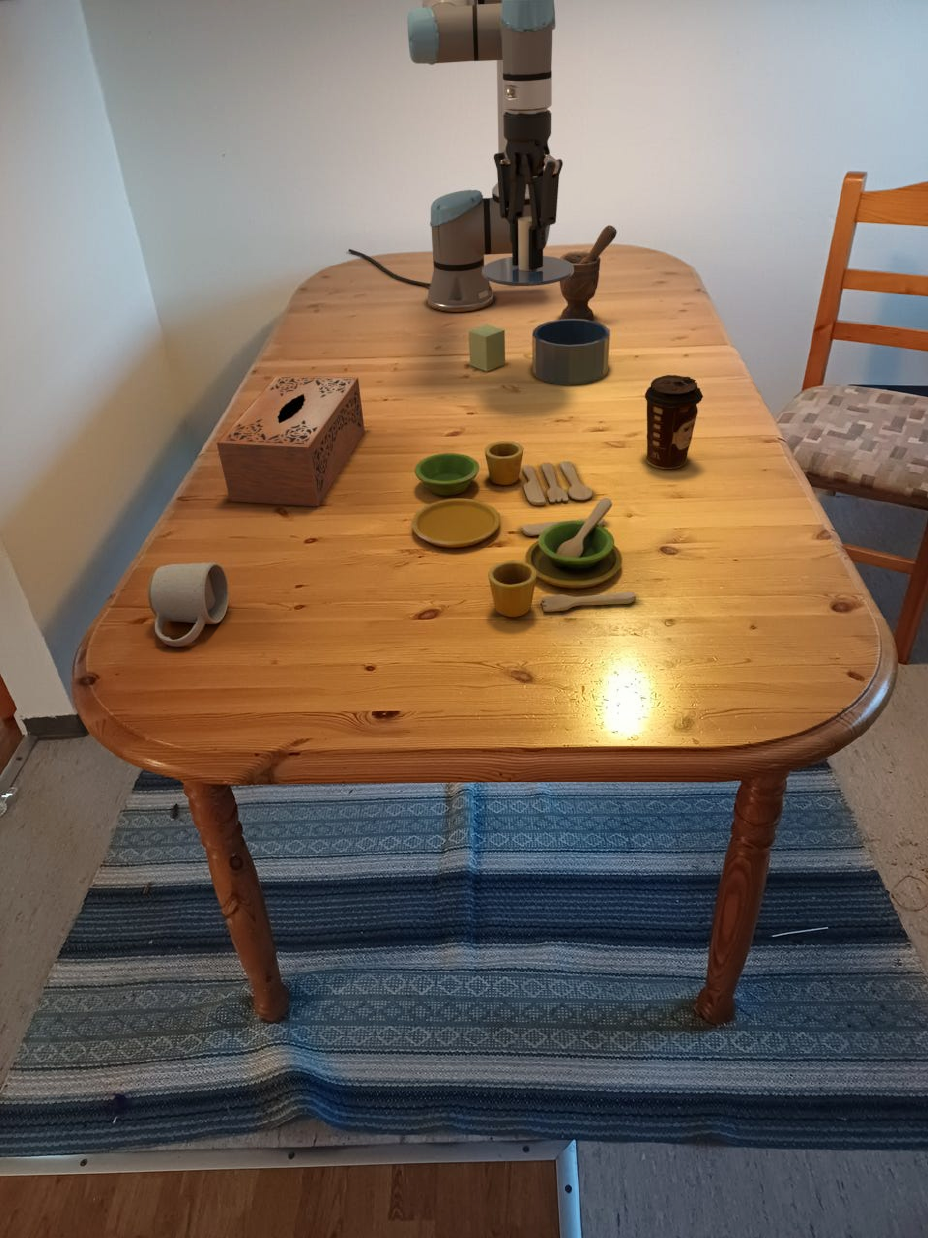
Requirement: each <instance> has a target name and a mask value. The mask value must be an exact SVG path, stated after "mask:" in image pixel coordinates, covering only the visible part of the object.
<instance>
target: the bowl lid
mask: <svg viewBox="0 0 928 1238" xmlns="http://www.w3.org/2000/svg"><path fill="white" fill-rule="evenodd" d="M530 226H532V217H521V218H519V219H518V266H513V265H512V256H509V257H504V258H500V259H497V260H493V261H490V262H488V263H486V264H484V267H483V268H482V276H483V277H484V278H485V279H486V280H488V281H489V282H491V283H494V284H497V285H498V284H499V285H502V286H511V287H537V286H544V285H551V284H555V283H560V281H562V280H565V279H567V278H569V277H570V276H571V275H572V274H573V273H574V266H573V265H572V263H570V262H568V261H566V260H563V259H560V257H555V256H549V255H543V267H541V268H538V269H535V270H529V229H530V228H529V227H530Z"/></svg>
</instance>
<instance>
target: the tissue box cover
mask: <svg viewBox="0 0 928 1238" xmlns="http://www.w3.org/2000/svg"><path fill="white" fill-rule="evenodd" d="M363 414H364V413H363V407H362V398H361V390H360V382H359V377H354V376H353V377H352V376H350V377H349V376H321V375H320V376H319V375H288V374H276V376H275V377H274V378H273V379H272V381H270V382H269V384H268V385H267V386H266V387H265V388H264V389H263V390H262V391H261V393H260V394H259V395H258V396H257V397H256V398H255V399H254V400H253V401H252V403H251V404H250V405H249V406H248V407H247V408H246V409H245V410H244V412H243V413H242V414H240V416H239V417H238V418H237V419H236V420H235V421H234V423H233V424H232V425H231V426H230V427H229V428H228V429H227V431H226V432H224V434H223V435H222V436H221V437H219V440H218V441H217V442H216V446H217V451H218V455H219V459H220V462H221V467H222V471H223V477H224V480H225V484H226V489H227V493H228V497H229V502H235V503H236V502H237V503H251V504H252V503H253V504H268V505H269V504H271V505H289V506H303V507H320V506H321V503H322V502H323V500H324V498H325V497H326V495H327V494H328V492H329V490H330V489H331V487H332V485H334V482H335V481H336V479H337V478H338V476H339V474H341V471H342V470H343V468H344V467H345V465H346V463H347V462H348V460H349V458H350V457H351V455H352V454H353V452H354V451H355V449H356V447H357V446H358V444H359V443H360V441H361V440H362V438H363V436H364V435H365V433H366V432H365V431H366V430H365V421H364V415H363Z"/></svg>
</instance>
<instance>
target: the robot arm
mask: <svg viewBox="0 0 928 1238" xmlns="http://www.w3.org/2000/svg"><path fill="white" fill-rule="evenodd" d="M406 20H407V41H408V51H409V56H410V60H411V61H412V62H413V63H414V64H417V65H418V64H419V65H421V64H422V65H423V64H427V65H433V66H434V65H435V64H448V63H464V62H465V63H466V62H486V61H487V62H489V61H496V93H497V94H496V95H497V96H496V97H497V98H496V99H497V101H496V102H497V152H496V153H494V154H493V162H494V165H495V168H496V174H497V175H496V177H497V182H496V184H495V185H494V186H493V187H492V189H491V197H484V194H482V191H480V190H479V189H464V190H459V191H454V192H450V193H447V194H443V195H442V196H439V197H437V198H436V199H435V200H434V201H433V202H432V203H431V206H430V222H429V226H430V227H431V242H432V263H433V271H432V275H431V281H430V283H429V282H424V281H418V280H413V279H410V278H406V277H403V276H400V275H398V274H396V273H394V272H392V271H390V270H389V269H387V268H386V267H384V266H383V265H382V264H381V263H379V262H377V261H376V260H375V259H374V258H372V257H371V256H369V255H367V254H364V253H362V252H361V251H358V250H354V249H351V248H349V249H348V250H347V251H348V252H349V253H351V254H354V255H357V256H360V257H362V258H364V259H366V260H368V261H369V262H371V263H373V264H374V265H375V266H377V267H378V268H379V269H380V270H381V271H383V272H384V273H386V274H388V275H389V276H391V277H393V278H395V279H397V280H400V281H402V282H405V283H408V284H412V285H415V286H416V285H417V286H421V287H427V288H429V289H428V293H427V304H428V306H429V307H430V308H431V309H434V310H437V311H441V312H448V313H465V312H473V311H478V310H481V309H483V308H486V307H488V306H490V305H491V304H493V302H494V291H493V288H492V286H491V283H490V282H491V281H488V280H486V279H485V278H484V277H483V276H482V268H483V267H484V266H485V256H488V255H511V257H512V265H513V266H518V219H519V218H521V217H532V226H530V227H529V228H530V229H529V270H535V269H538V268H541V267H543V256H544V249H546V246H547V244H548V241H549V237H550V231H551V230H550V229H551V226H552V225H555V224H556V222H557V210H558V198H559V197H558V196H559V184H560V183H559V182H560V174H561V171H562V168H563V165H564V162H563V160H562V159H561V158H558V159H556V158H554V157H553V156H552V155H551V150H550V147H549V139H550V137H551V135H552V112H551V110H549V108H551V107H552V105H553V102H552V99H553V98H552V97H553V96H552V94H553V93H552V92H553V91H552V90H553V82H552V81H553V77H552V75H553V74H552V73H553V71H552V63H553V62H552V59H553V56H552V55H553V31H554V30H555V29H556V26H557V25H556V9H555V0H422V7H416V8H411V9H410V10H409V11H408V13H407V19H406Z"/></svg>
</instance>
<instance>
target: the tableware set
mask: <svg viewBox="0 0 928 1238" xmlns="http://www.w3.org/2000/svg"><path fill="white" fill-rule="evenodd" d="M484 456H485V460H486V464H487V469H488V474H489V479H490V481H491V482H492V483H493V484H496V485H500V486H509V485H512V484H515V483H517V481H518V480H519V479H520V474H521V468H522V473H523V474H524V476H525V478H526V480H527V482H525V483H524V484H523V486H522V488H523V491H524V493H525V496H526V498H527V500H528V502H529V503H530V504H531V505H532V506H545V505H546V501H547V500H546V497H547V499H548V501H549V503H556V502H557V503H561V502H568V501H569V498H571V499H572V500H576V501H585V500H586V501H587V500H589V499H591V498H592V497H593V490H592V489H591V487H589V486H587V485H584V484H582V483H581V482H580V480H579V477H578V475H577V472H576V470H575V467H574V465H573V463H572V462H571V461H568V460H567V461H566V460H565V461H561V462H560V465H559V466H560V470H561V472H562V473H563V474H564V477H565V478H566V480H567V481H568V482H569V485H570V488H568V490H566V489H564V488H562V487H561V486H559V485H558V481H557V478H556V475H555V471H554V470H555V469H554V467H553V465H552V464H551V463H550V462H544V463H542V464H541V471H542V473H543V476H544V478H545V479H546V480H545V481H546V482H547V484H548V486H549V489H548V490H547V491H546V497H545V495H544V493H543V490H542V487H541V485H540V483H539V482H540V481H538V477H537V475H536V473H535V471H534V469H533V466H531V465H529V464H528V465H523V466H522V461H523V456H524V446H523V445H522V444H520V443H518V442H515V441H510V440H509V441H506V440H504V441H495V442H493V443H490V444H488V445H487V446H486V447H485V449H484ZM413 471H414V474H415V476H416V478H417V479H418V480H419V481H420V482H422V483H423V485H424V486H425V487H426V489H428V490H429V492H431V493H432V494H434V495H437V496H441V497H442V496H443V497H451V496H455V495H459V494H461V493H463V492H465V491H466V490H467V489H468V487H469V486H470V484H471V482H472V481H473V480H474V478H476V476H477V475H478V474H479V471H480V464H479V462H478V461H477V460H476V459H474V458H473V457H471V456H469V455H468V454H467V455H466V454H462V453H456V452H455V453H454V452H445V453H437V454H433V455H430V456H426V457H425V458H422V459H421V460H420V461H419V462H418V463H417V464H416V465H415V467H414V470H413ZM567 491H568V492H567ZM612 506H613V503H612V500H611V499H610V498H608V497H603V498H602V499H600V500H599V501H598V502H597V503H596V505H595V507H594V508H593V510H592V511H591V512H590V514H589V516H588V517H587V518H582V519H581V518H580V519H572V520H562V521H552V522H544V523H543V522H542V523H533V524H525V525H522V527H521V531H522V533H523V534H524V535H525V536H527V537H528V536H529V537H531V536H538V539H537V540H536V541H535V542H534V543H532V544H531V545H530V547H528V549H527V551H526V553H525V557H524V558H525V559H524V560H525V562H524V561H521V560H505V561H501V562H499V563H496V564H494V565H493V566H492V567H491V568H489V570H488V573H487V577H488V583H489V586H490V591H491V596H492V600H493V606H494V608H495V610H496V612H497V613H498V614H500V615H502V616H504V617H507V618H508V617H509V618H517V617H521V616H523V615H526V614H527V613H528V612H529V611H530V609H531V607H532V603H533V598H534V593H535V588H536V583H537V582H536V581H537V578H539V579H540V580H541V581H543V582H544V583H547V584H549V585H551V586H555V587H558V588H563V589H573V590H575V589H586V588H591V587H594V586H598V585H600V584H602V583H604V582H605V581H607V580H608V579H610V578H612V577H613V576H614V575H616V573H617V572H619V570H620V568H621V566H622V563H623V555H622V552H621V551H620V550H619V548H618V547H617V546H616V545H615V539H614V536H613V535H612V532H610V531H609V530H608V529H607V528H606V527H604V525H605V518H604V517H605V516H606V515H607V514H608V513H609V511H610V509H612ZM501 520H502V519H501V516H500V513H499V511H498V510H497V509H496V508H495V507H493V506H492V505H490V504H488V503H486V502H484V501H481V500H477V499H472V498H463V497H462V498H448V499H447V498H446V499H442V500H437V501H434V502H431V503H429V504H427V505H425V506H423V507H422V508H420V509H419V510H418V511H417V512H415V514H414V515H413V517H412V519H411V528H412V530H413V532H414V533H415V534H416V535H417V536H418V537H419V538H421V539H422V540H424V541H425V542H427V543H429V544H431V545H434V546H437V547H442V548H453V549H455V548H465V547H470V546H473V545H477V544H479V543H481V542H483V541H485V540H487V539H488V538H489V537H491V536H492V535H493V534H494V533H495V532H496V531H497V530H498V529H499V527H500V525H501ZM636 600H637V595H636V593H635V592H633V591H622V592H621V591H620V592H613V593H603V594H592V595H583V596H571V595H568V594H561V593H560V594H554V595H548V596H543V597H541V599H540V601H541V605H542V610H543V611H544V612H562V611H568V610H570V609H572V608H573V607H576V606H577V607H578V606H595V605H596V606H597V605H598V606H599V605H621V604H623V605H625V604H631V603H633V602H635V601H636Z"/></svg>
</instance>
